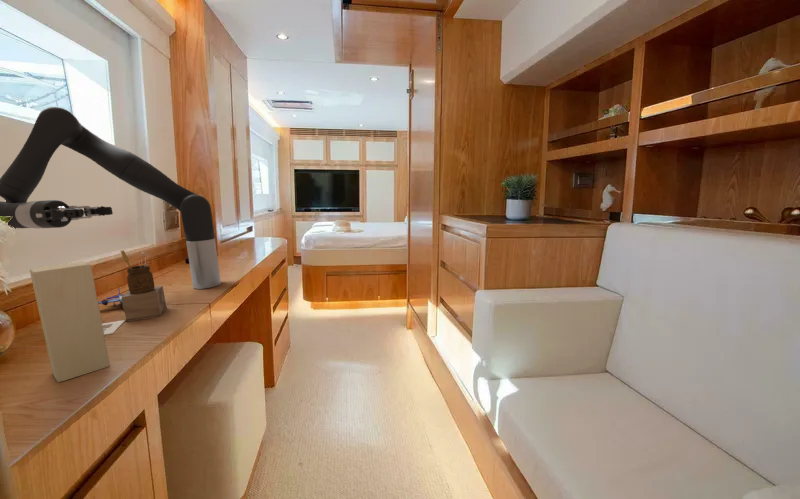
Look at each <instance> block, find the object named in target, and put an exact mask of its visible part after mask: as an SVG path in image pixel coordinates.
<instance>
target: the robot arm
mask: <svg viewBox="0 0 800 499" xmlns="http://www.w3.org/2000/svg"><path fill="white" fill-rule="evenodd" d="M60 146H63V147H66V148H69V149H70V150H73V151H74V152H77V153H78V154H80V155H83V156H84V157H86V158H88V159H90V160H91V161H93V163H94V162H95V164H97V165H98V166H100V167H101V168H103V169H104V170H105V171H107V172H109V173H110V174H112V175H113V176H115V177H117V178H118V179H119V180H121V181H123V182H125V183H126V184H128V185H130V186H131V187H134V188H135V189H138V190H140V191H142V192H143V193H145V194H148V195H151V196H153V197H156V198H158V199H160V200H163V201H164V202H165V203H168V204H169V205H171V206H172V207H173V208H175V209H176V210H178V211H179V212H180V215H181V216H180V217H181V221H182V222H181V223H182V228H183V233H184V237H185V243H186V249H187V251H186V252H187V257H188V262H189V269H190V275H191V282H192V288H193V289H195V290H197V289H198V290H201V289H210V288H213V287H217V286H221V284H222V279H221V272H220V264H219V260H218V259H219V257H218V252H217V251H218V250H217V245H216V237H215V230H214V229H215V228H214V223H213V215H212V209H211V204H210V202H209V201H208V199H207V198H206V197H204V196H202V195H199V194H197V193H194V192H193V191H190V190H189V189H187V188H185V187H183V186H181V185H180V184H178V183H177V182H175V181H174V180H172V179H171V178H170V177H168V175H166V174H165V173H163V172H162V171H161V170H159V169H158V168H157V167H155V166H154V165H152V164H151V163H149V162H148V161H147V160H144V159H143V158H142V157H139V156H138V155H136V154H134V153H132V152H131V151H128V150H127V149H124V148H122V147H119V146H117V145H114V144H112V143H110V142H108V141H105V140H104V139H103V138H100V137H99V136H98V135H96V134H95V133H93V132H92V131H90V130H89V129H88V128H86V127H85V126H83V124H81V122H79V120H78V118H77V117H76V115H74V114H73V113H72V112H71V111H70V110H68V109H66V108H64V107H61V106H50V107H46V108H44V109H43V110H41V111H40V112H39V114H38V116H37V118H36V119H35V121H34V125H33V127H32V129H31V131H30V134H29V135H28V138H27V139H26V141H25V143H24V144H23V146H22V148H21V149H20V151H19V153H18V154H17V156H16V157H15V159H14V160H13V161H12V163H11V164H10V165H9V167H8V168H7V169H6V171H5V172H4V173H3V174H2V175H1V177H0V198H2V199H4V201H0V216H13V218H12V219H11V220H10V221H9V222H8V225H11V226H13V227H14V228H15V230H16V229H55V228H56V229H57V228H58V229H60V228H64V227H67V226H68V225H69V224H70V223H71V222H72V221H79V220H83V219H91V218H93V217H96V216H98V217H101V216H111V215H113V214H114V212H113V207H112V206H103V205H101V206H99V205H98V206H92V207H91V206H90V205H79V206H77V205H68V204H67V203H66V202H64V201H61V200H59V199H46V200H33V201H28V199H29V198H30V197H31V195H32V194H33V193H34V191H35V190H36V189H37V187H38V185H39V183H40V182H41V180H42V179H43V176H44V174H45V172H46V170H47V168H48V167H47V166H48V164H49V162H50V161H51V158H52V156H53V155H54V153H55V152H56V151H57V150H58V149H59V147H60ZM5 200H6V202H5Z"/></svg>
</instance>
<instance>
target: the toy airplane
mask: <svg viewBox="0 0 800 499" xmlns="http://www.w3.org/2000/svg"><path fill="white" fill-rule="evenodd" d="M117 291H118V295H113V296H108V297H106V298H104V299H102V300H101V301H98V305H101V304H102V305H103V306H107V305H108V304H110V303H112V304H113V307H116V306H117V304H116V303H117V302H119V303H120V305H121V306H123V301H122V296H123V295H125V294H126V293H124V294H121V291H120V288H119V287H117ZM122 308H123V310H124V307H122Z"/></svg>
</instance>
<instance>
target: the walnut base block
mask: <svg viewBox="0 0 800 499" xmlns="http://www.w3.org/2000/svg"><path fill="white" fill-rule="evenodd" d="M124 294H125V295H123V296H122V301H123V305H122V308H124V309H123V311H124V317H125V322H127V323H128V322H132V321H139V320H145V319H151V318H152V319H153V318H158V317H159V318H160V317H162V316H163V315H164V313H165V311H166V310H167V306H168V305H167V303H166V298H165V292H164V286H163V285H158V286H154V290H152V291H149V292H145V293H139V294H132V293H130V291H129V290H128V291H127V292H126V293H124Z"/></svg>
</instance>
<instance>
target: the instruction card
mask: <svg viewBox="0 0 800 499" xmlns="http://www.w3.org/2000/svg"><path fill="white" fill-rule="evenodd" d="M125 322H126V319H124V320H118V321H110V322H104V323H103V322H102V326H103V331H104V336H107V335H113V334H114V333H115V332H116V331H117V330H118V329H119V328H120V327H121V326H122V325H123V324H124V323H125Z"/></svg>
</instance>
